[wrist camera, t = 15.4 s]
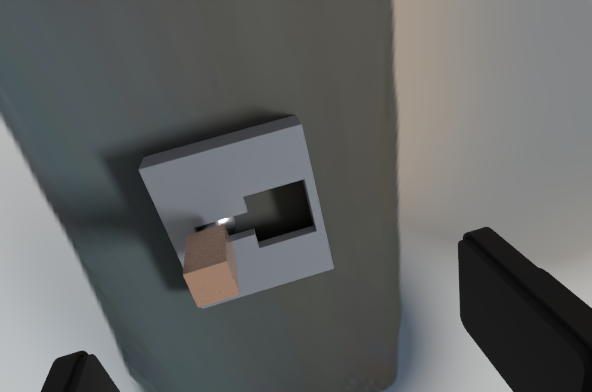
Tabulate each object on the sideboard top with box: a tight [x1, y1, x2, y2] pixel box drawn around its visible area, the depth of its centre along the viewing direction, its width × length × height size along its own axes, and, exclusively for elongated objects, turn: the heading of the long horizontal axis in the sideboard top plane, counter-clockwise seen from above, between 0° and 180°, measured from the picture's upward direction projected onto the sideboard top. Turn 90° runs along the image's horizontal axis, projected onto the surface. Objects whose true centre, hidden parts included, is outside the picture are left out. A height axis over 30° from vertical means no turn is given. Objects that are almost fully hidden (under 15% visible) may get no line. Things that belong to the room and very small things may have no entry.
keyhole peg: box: [183, 216, 240, 308], centre depth 37 cm, size 5×5×11 cm
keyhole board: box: [139, 115, 334, 309], centre depth 41 cm, size 17×15×3 cm
